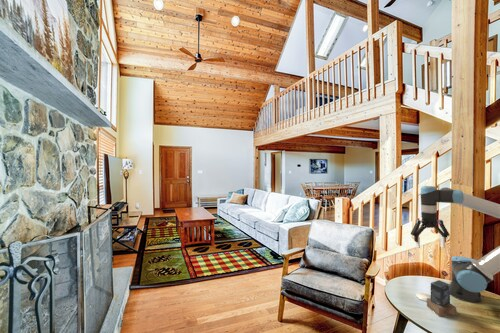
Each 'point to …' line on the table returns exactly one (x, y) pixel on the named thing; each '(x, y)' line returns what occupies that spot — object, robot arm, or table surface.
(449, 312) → the block
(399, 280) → the table surface
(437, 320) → the table surface
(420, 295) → the coaster
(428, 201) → the robot arm
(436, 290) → the box
